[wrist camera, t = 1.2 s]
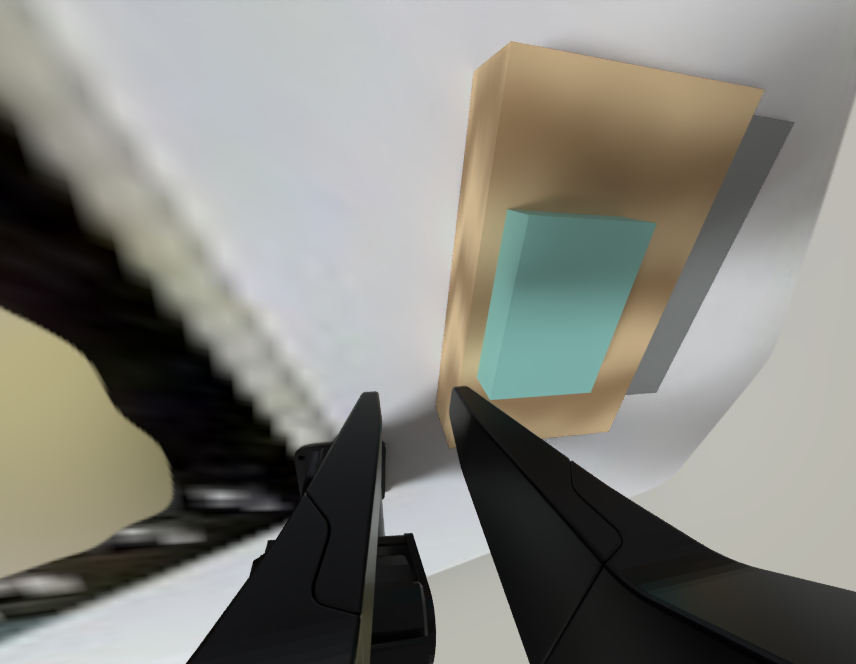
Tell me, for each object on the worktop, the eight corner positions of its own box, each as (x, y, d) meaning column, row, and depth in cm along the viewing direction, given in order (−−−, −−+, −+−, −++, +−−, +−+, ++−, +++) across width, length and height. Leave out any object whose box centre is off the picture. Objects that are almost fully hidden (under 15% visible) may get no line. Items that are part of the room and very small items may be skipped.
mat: (653, 390, 28) (656, 392, 28) (574, 396, 26) (577, 398, 26) (788, 123, 19) (794, 122, 18) (681, 105, 17) (686, 104, 17)
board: (574, 396, 26) (608, 431, 23) (435, 406, 24) (449, 448, 20) (681, 105, 17) (764, 89, 14) (474, 71, 14) (511, 41, 11)
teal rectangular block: (569, 372, 19) (590, 392, 17) (476, 377, 18) (489, 400, 16) (622, 216, 15) (657, 223, 13) (507, 209, 14) (529, 215, 12)
